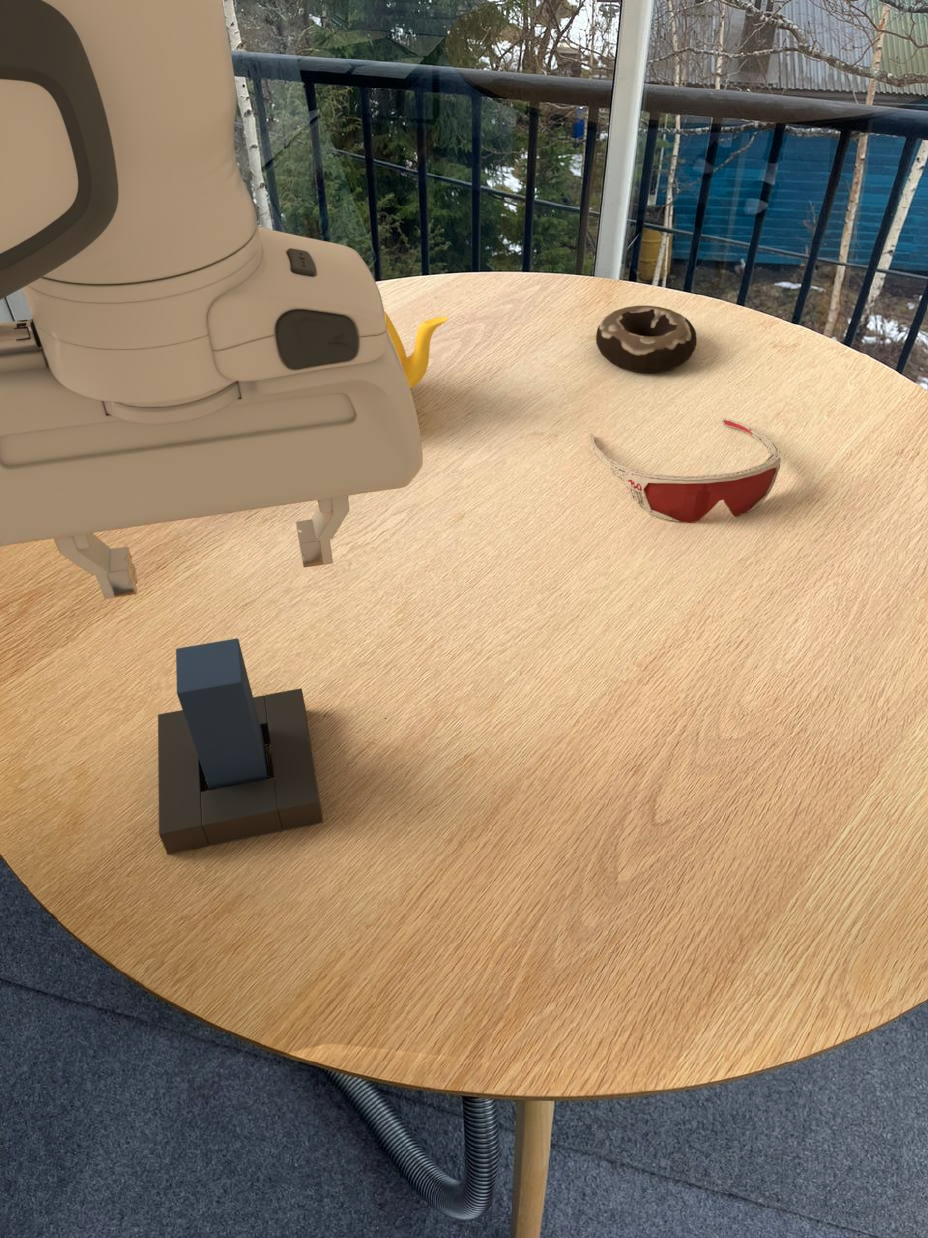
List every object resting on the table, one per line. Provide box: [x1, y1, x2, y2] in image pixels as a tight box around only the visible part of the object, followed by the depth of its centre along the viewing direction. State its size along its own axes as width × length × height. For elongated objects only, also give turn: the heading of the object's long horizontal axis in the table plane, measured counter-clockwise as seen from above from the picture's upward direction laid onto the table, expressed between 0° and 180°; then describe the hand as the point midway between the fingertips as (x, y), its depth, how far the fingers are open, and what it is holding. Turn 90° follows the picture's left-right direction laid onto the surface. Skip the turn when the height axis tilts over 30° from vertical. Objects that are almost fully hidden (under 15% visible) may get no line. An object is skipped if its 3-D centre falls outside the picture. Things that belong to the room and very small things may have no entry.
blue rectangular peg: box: [175, 638, 271, 790], centre depth 64 cm, size 4×4×12 cm
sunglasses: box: [589, 417, 782, 524], centre depth 93 cm, size 17×17×5 cm
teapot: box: [384, 310, 449, 389], centre depth 98 cm, size 13×20×12 cm
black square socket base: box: [157, 687, 324, 855], centre depth 67 cm, size 11×11×2 cm
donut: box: [595, 305, 698, 373], centre depth 111 cm, size 12×12×4 cm
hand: (221, 573), depth 46 cm, fingers open, 8 cm apart
